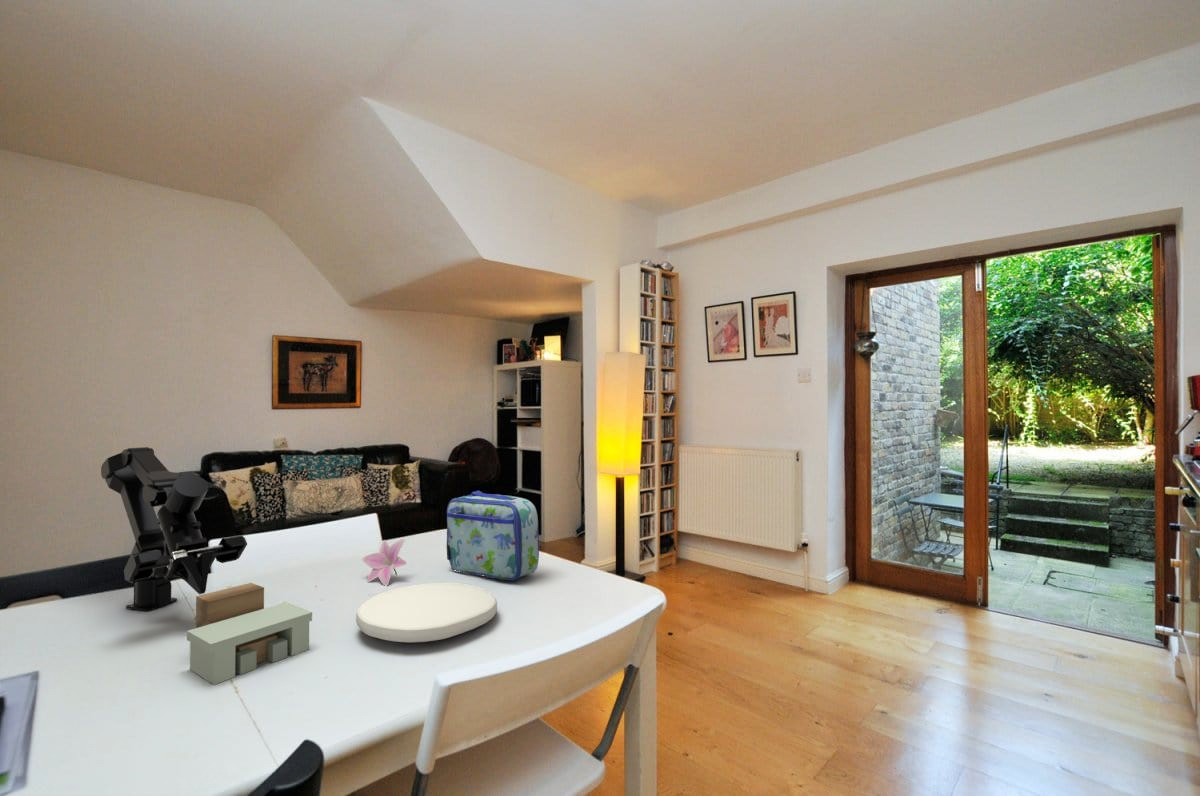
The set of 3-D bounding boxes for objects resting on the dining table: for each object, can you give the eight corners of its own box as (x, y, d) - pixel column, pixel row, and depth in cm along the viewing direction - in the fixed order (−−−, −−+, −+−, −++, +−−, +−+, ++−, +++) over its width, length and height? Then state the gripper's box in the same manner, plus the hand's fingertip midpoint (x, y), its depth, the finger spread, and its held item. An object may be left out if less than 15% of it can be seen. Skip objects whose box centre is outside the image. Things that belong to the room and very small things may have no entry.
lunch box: (439, 570, 146) (440, 492, 146) (469, 561, 155) (470, 487, 155) (514, 588, 132) (515, 501, 132) (542, 576, 141) (542, 495, 141)
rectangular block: (195, 653, 97) (196, 596, 97) (250, 635, 104) (251, 582, 105) (229, 672, 90) (230, 611, 90) (285, 652, 97) (286, 595, 97)
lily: (360, 579, 141) (350, 552, 137) (402, 554, 148) (394, 527, 144) (381, 605, 133) (370, 577, 129) (424, 577, 140) (415, 549, 136)
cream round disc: (407, 574, 127) (516, 583, 122) (405, 603, 127) (515, 613, 121) (325, 604, 100) (460, 616, 95) (322, 641, 99) (458, 656, 94)
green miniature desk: (186, 670, 90) (186, 630, 91) (286, 636, 104) (286, 602, 104) (210, 685, 85) (210, 644, 86) (311, 648, 99) (312, 612, 99)
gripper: (219, 542, 123) (241, 602, 117) (111, 561, 107) (130, 631, 101) (235, 511, 119) (259, 571, 113) (126, 527, 103) (147, 597, 97)
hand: (202, 592), depth 106 cm, fingers closed
